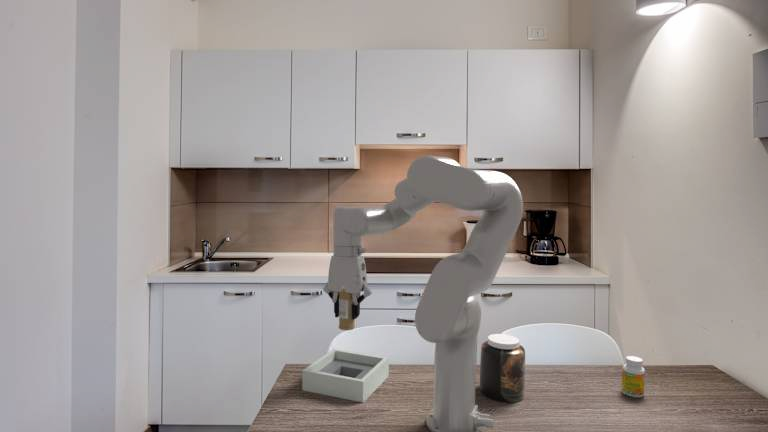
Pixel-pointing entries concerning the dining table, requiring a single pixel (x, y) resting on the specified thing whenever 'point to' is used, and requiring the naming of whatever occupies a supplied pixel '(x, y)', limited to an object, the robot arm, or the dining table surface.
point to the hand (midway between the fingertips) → (346, 316)
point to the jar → (502, 368)
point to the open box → (346, 375)
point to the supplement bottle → (633, 377)
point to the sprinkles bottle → (345, 311)
